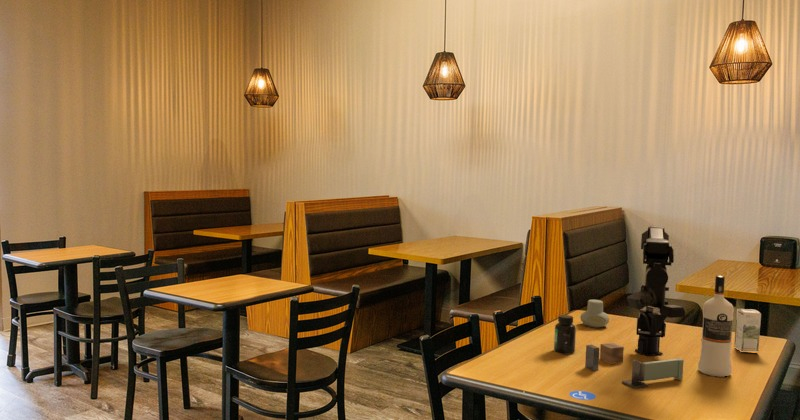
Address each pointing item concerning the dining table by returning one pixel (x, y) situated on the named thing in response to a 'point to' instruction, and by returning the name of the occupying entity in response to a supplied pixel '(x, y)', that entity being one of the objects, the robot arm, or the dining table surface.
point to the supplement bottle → (564, 335)
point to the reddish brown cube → (611, 353)
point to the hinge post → (635, 377)
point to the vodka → (716, 333)
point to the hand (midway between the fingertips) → (652, 335)
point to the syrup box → (747, 329)
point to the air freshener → (594, 314)
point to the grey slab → (661, 369)
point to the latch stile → (592, 357)
